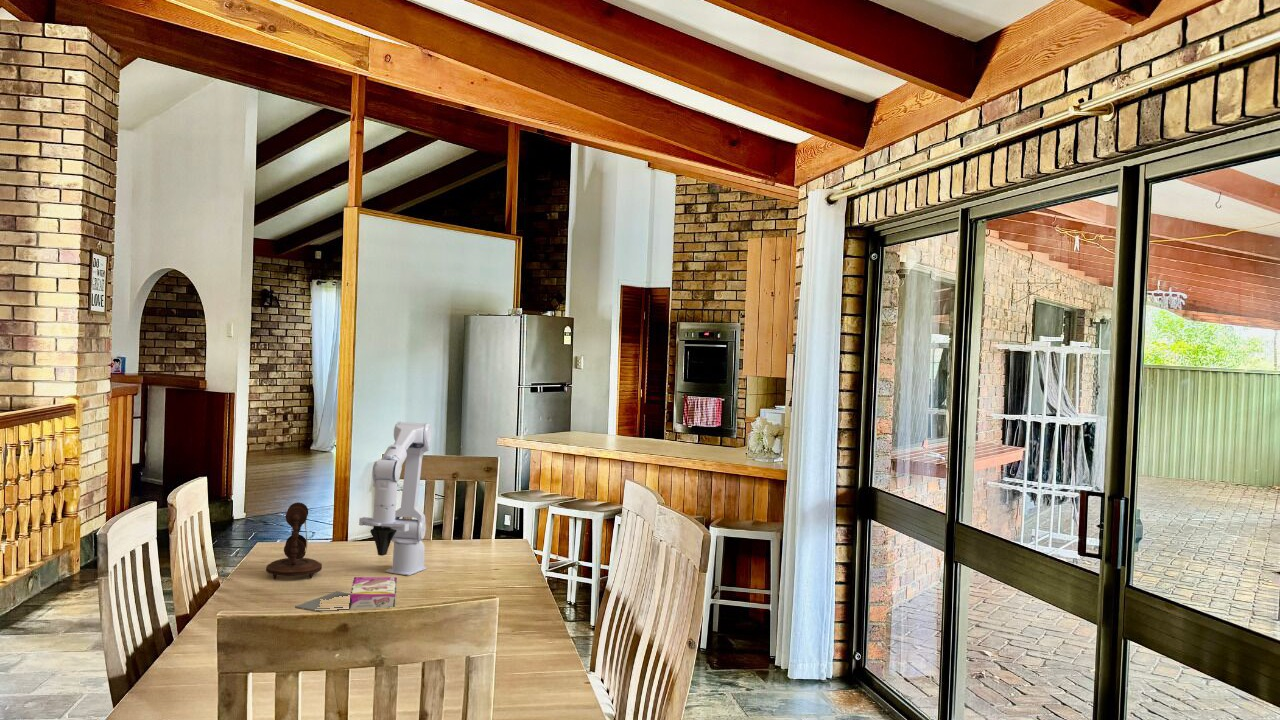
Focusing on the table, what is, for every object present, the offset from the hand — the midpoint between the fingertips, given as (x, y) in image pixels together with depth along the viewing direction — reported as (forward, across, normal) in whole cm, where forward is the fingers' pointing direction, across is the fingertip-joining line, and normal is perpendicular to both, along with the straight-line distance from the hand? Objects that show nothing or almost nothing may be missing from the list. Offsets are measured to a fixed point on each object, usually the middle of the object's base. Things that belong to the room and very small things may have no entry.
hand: (382, 554), depth 238 cm
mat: (+10, -1, -13) cm, 17 cm away
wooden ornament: (+11, -32, +3) cm, 33 cm away
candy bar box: (+8, 0, -3) cm, 8 cm away
